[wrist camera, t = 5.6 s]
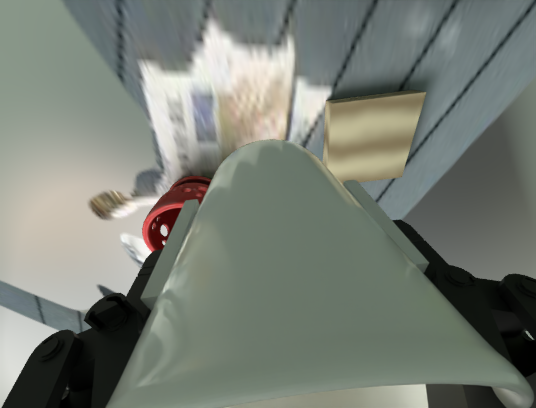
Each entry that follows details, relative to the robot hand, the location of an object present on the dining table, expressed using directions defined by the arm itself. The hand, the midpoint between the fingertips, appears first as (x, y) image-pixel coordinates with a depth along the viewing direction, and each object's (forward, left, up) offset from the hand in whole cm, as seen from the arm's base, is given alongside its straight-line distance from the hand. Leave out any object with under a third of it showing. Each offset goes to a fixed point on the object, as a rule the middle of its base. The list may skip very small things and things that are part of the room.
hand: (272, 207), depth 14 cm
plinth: (+5, +18, -25) cm, 31 cm away
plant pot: (+13, -13, -25) cm, 31 cm away
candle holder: (0, 0, -2) cm, 2 cm away
